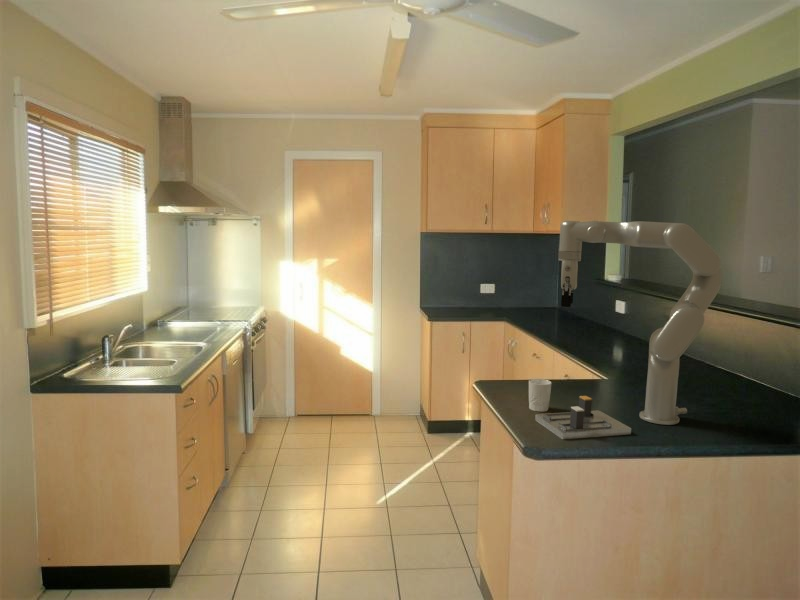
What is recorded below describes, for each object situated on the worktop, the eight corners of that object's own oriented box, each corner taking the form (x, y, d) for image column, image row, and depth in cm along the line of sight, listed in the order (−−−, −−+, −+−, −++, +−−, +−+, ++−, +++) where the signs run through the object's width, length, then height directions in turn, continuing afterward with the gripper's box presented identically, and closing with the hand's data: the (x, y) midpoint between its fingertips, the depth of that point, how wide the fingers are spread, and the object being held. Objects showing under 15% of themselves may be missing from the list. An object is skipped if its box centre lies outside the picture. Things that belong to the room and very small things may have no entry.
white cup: (546, 405, 213) (547, 378, 212) (552, 412, 206) (554, 384, 204) (524, 405, 213) (526, 378, 212) (530, 412, 205) (531, 384, 204)
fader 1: (576, 424, 187) (578, 406, 186) (583, 428, 184) (584, 409, 183) (569, 425, 187) (571, 406, 186) (575, 428, 183) (577, 410, 182)
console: (598, 415, 203) (598, 407, 203) (630, 434, 186) (631, 425, 185) (535, 420, 197) (535, 411, 197) (562, 439, 180) (563, 430, 179)
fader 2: (584, 412, 199) (585, 395, 198) (590, 416, 196) (591, 398, 195) (578, 413, 198) (579, 396, 198) (584, 416, 195) (585, 399, 194)
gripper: (579, 258, 196) (576, 308, 198) (582, 255, 212) (579, 302, 214) (556, 257, 198) (553, 307, 200) (560, 255, 214) (558, 301, 217)
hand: (566, 305), depth 207 cm, fingers open, 9 cm apart
